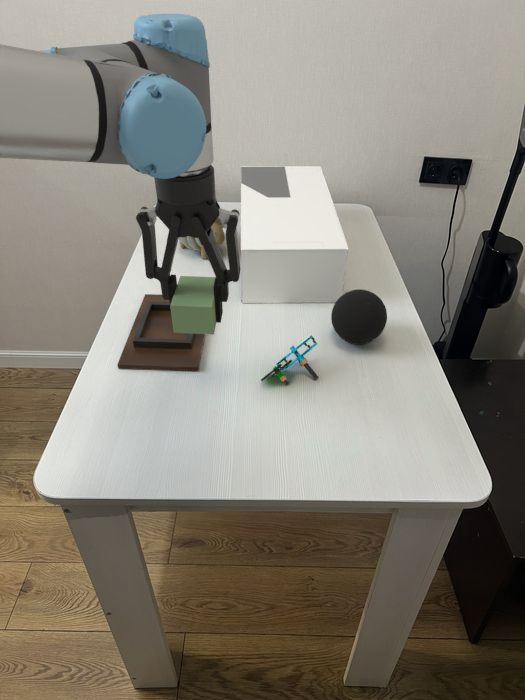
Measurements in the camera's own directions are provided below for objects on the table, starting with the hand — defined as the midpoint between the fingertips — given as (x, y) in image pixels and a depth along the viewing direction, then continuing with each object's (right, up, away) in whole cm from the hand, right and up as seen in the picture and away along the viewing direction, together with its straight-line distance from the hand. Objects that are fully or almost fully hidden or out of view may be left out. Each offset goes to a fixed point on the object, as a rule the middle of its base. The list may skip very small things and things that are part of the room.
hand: (197, 316), depth 75 cm
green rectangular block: (0, 0, 0) cm, 0 cm away
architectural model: (+15, +19, +43) cm, 50 cm away
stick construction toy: (+15, -10, +9) cm, 20 cm away
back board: (-8, -2, +18) cm, 20 cm away
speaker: (+28, -3, +17) cm, 33 cm away
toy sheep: (-5, +19, +43) cm, 48 cm away
